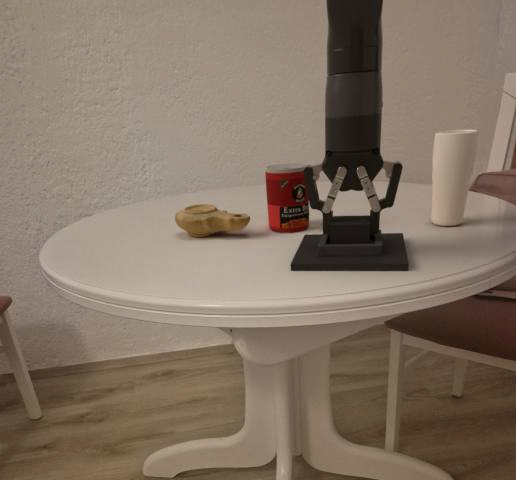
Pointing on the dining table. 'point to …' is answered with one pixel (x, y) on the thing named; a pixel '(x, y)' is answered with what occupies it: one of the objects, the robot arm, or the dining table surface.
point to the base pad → (352, 254)
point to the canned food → (287, 197)
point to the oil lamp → (209, 220)
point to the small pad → (350, 230)
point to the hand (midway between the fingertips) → (350, 236)
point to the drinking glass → (452, 174)
